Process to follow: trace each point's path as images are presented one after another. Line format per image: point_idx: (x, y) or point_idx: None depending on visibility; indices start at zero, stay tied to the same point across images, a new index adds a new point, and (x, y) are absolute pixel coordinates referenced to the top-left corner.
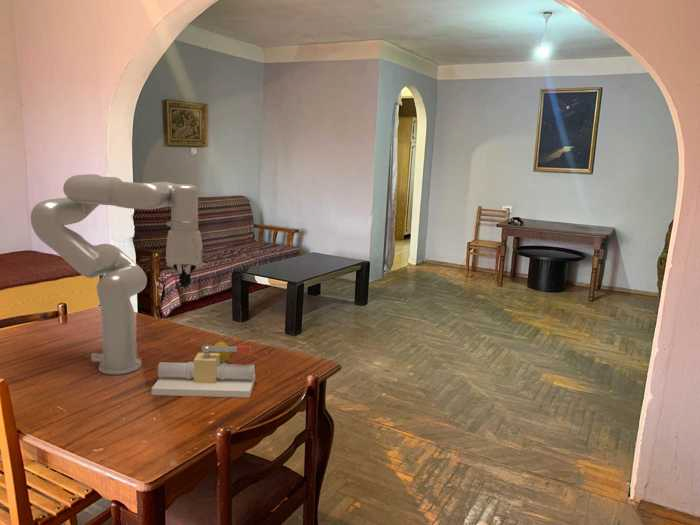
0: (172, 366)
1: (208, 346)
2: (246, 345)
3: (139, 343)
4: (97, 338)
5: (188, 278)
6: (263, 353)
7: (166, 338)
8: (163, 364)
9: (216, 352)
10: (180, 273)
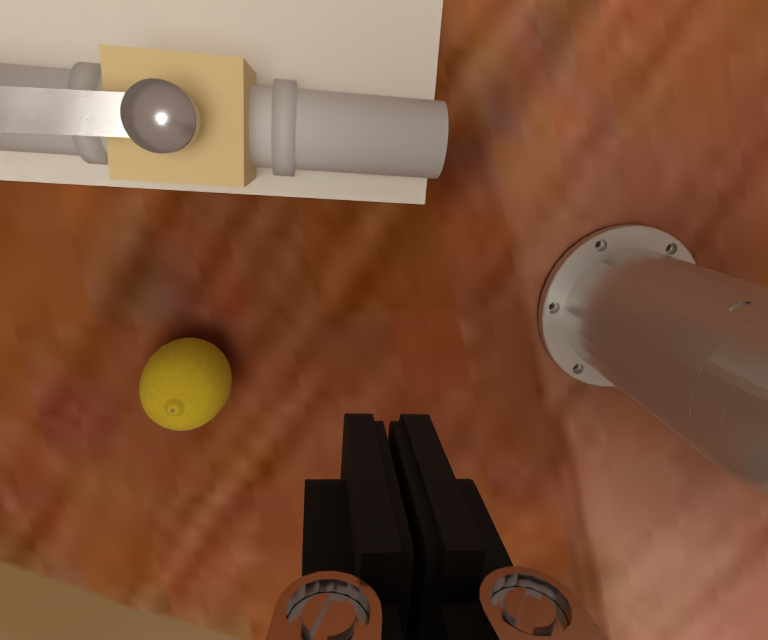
0: (374, 109)
1: (144, 111)
2: None
3: (581, 540)
4: (736, 568)
5: (319, 530)
6: (22, 491)
7: None
8: (424, 123)
9: (197, 352)
10: (503, 577)
